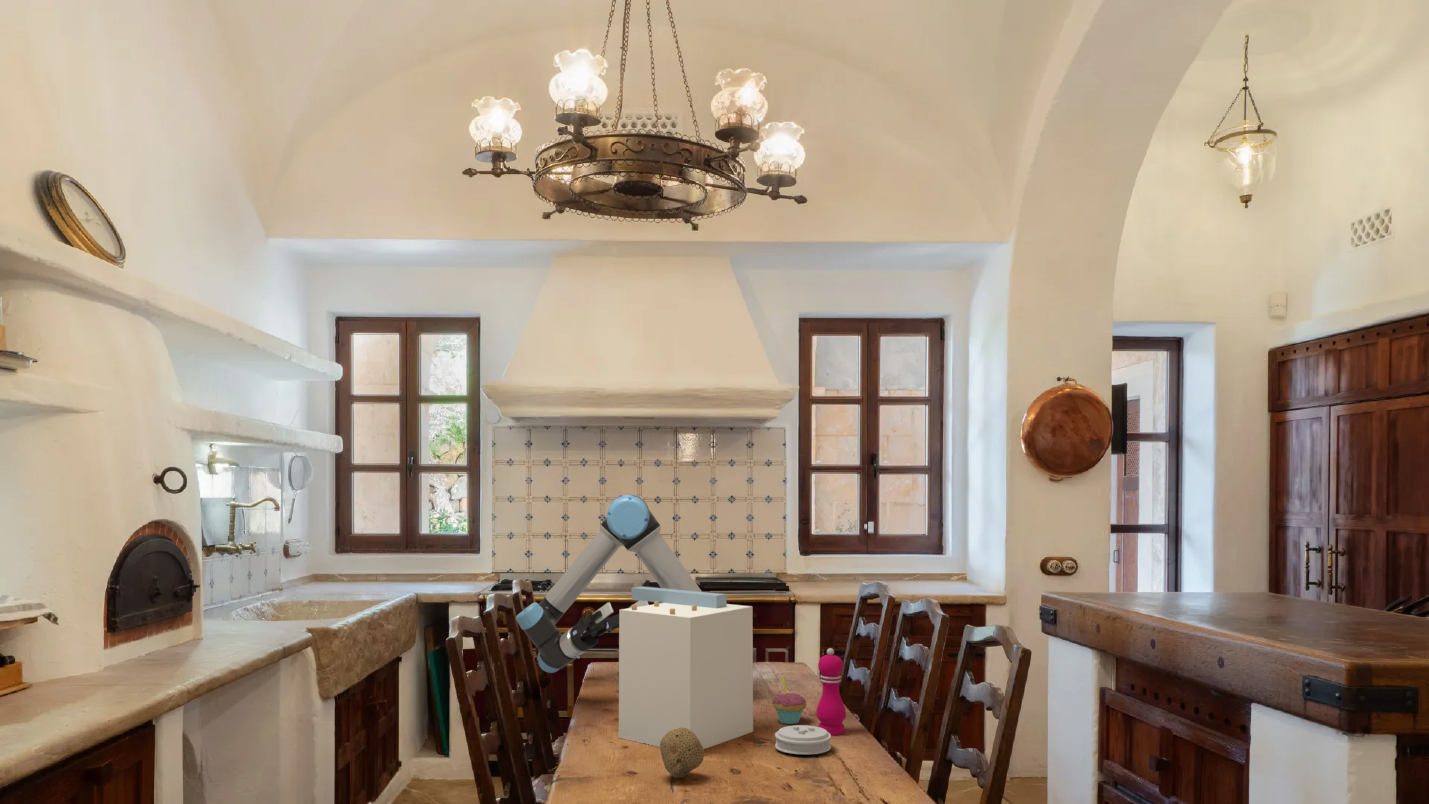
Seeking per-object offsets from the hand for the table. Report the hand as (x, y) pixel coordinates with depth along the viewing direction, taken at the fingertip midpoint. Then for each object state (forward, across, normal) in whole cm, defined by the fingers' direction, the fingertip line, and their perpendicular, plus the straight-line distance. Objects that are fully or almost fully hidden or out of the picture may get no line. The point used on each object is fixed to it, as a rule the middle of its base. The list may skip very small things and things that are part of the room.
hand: (629, 604), depth 253 cm
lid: (+31, -1, -52) cm, 61 cm away
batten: (+15, -1, -7) cm, 16 cm away
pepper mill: (+29, -18, -50) cm, 61 cm away
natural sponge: (+24, +31, -47) cm, 62 cm away
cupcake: (+17, -20, -43) cm, 51 cm away
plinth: (+7, +5, -37) cm, 38 cm away
